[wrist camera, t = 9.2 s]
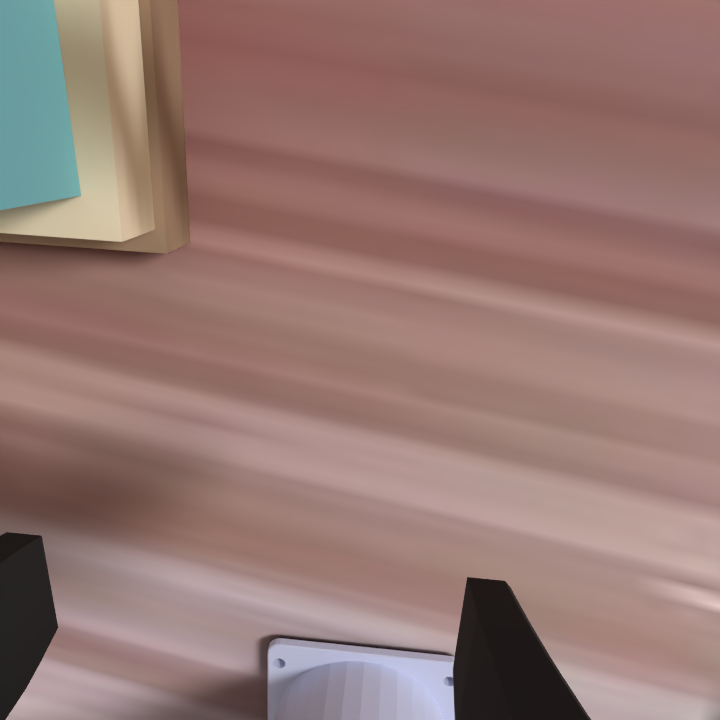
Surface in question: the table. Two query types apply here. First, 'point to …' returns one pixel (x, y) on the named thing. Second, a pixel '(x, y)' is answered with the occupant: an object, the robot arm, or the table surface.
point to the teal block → (33, 108)
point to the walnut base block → (153, 139)
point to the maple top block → (99, 128)
